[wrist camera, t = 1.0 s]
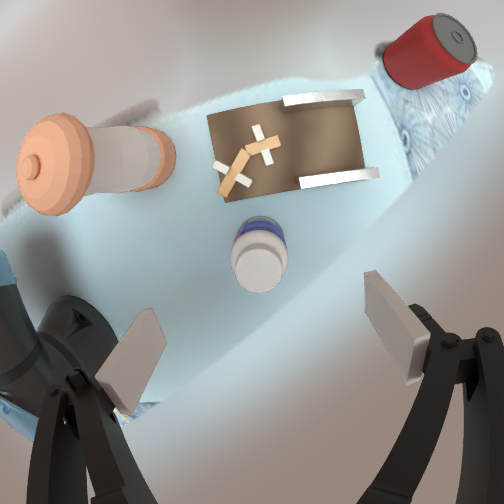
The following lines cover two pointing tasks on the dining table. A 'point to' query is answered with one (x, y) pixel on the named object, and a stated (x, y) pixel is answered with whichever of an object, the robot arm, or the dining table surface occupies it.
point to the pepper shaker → (88, 162)
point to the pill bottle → (259, 255)
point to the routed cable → (245, 161)
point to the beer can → (430, 52)
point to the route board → (286, 144)
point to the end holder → (328, 101)
